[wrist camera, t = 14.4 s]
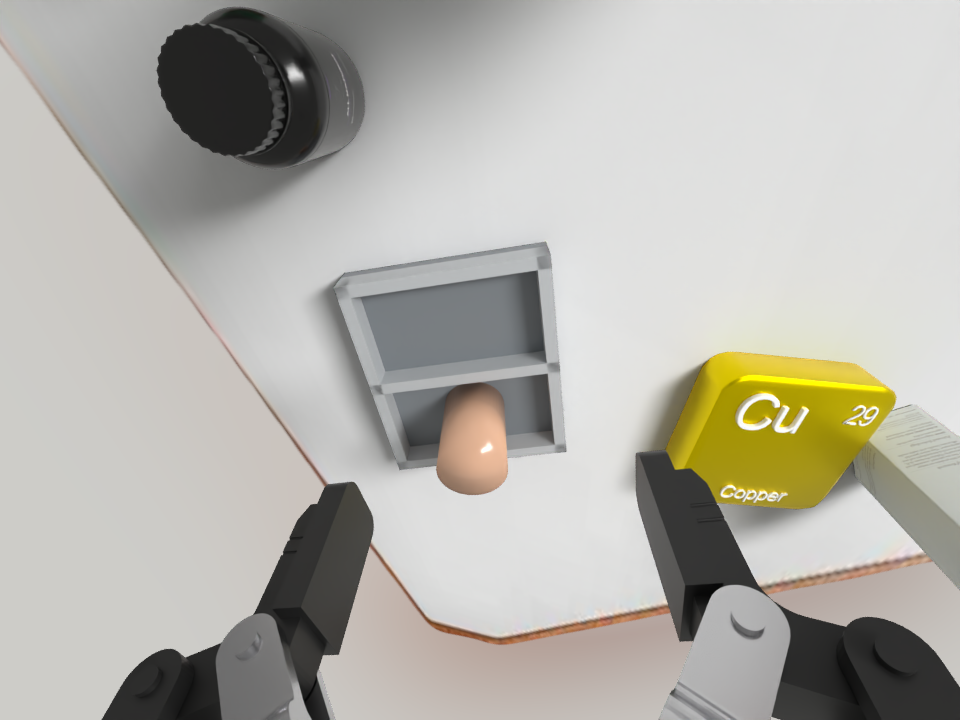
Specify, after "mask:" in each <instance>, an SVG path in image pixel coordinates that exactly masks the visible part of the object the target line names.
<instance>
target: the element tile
mask: <svg viewBox="0 0 960 720" xmlns="http://www.w3.org/2000/svg"><path fill="white" fill-rule="evenodd" d="M895 402H896V395H895V393H894V391H893V390H891V389H890V388H889V387H887V386H886V385H884V384H883V383H882V382H880V381H879V380H878V379H876V378H875V377H874V376H872V375H871V374H870V373H868V372H867V371H866V370H864V369H863V368H861V367H860V366H858V365H857V364H853V363H846V362H836V361H825V360H815V359H804V358H794V357H784V356H773V355H763V354H752V353H742V352H725V353H721V354H717V355H715V356H714V357H712V358H710V359H709V360H708V361H707V362H706V363H705V364H704V365H703V367H702V368H701V370H700V372H699V375H698V377H697V379H696V381H695V384H694V386H693V388H692V390H691V393H690V395H689V397H688V400H687V402H686V404H685V406H684V409H683V411H682V413H681V415H680V418H679V420H678V422H677V424H676V427H675V429H674V431H673V433H672V436H671V438H670V440H669V442H668V445H667V447H666V449H665V450H666V451H667V453H668V455H669V457H670V459H671V462H672V464H673V466H674V469H675V470H678V469H688V468H691V469H692V470H693V471H694V472H696V473H697V474H698V475H699V476H700V477H701V478H702V479H703V480H704V481H705V482H706V483H707V484H708V486H709V488H710V490H711V492H712V494H713V496H714V498H715V500H716V503H725V504H737V505H750V506H762V507H775V508H787V509H803V508H811V507H814V506H816V505H817V504H818V503H819V502H821V501H822V500H823V499H824V498H825V497H826V496H827V494H828V493H829V492H830V490H831V489H832V488H833V486H834V485H835V484H836V482H837V481H838V480H839V479H840V477H841V476H842V475H843V473H844V472H845V471H846V469H847V468H848V467H849V465H850V464H851V463H852V462H853V460H854V459H855V458H856V456H857V455H858V454H859V452H860V451H861V450H862V448H863V447H864V446H865V445H866V443H867V442H868V441H869V439H870V438H871V437H872V435H873V434H874V433H875V431H876V430H877V429H878V428H879V426H880V425H881V424H882V422H883V421H884V420H885V418H886V417H887V416H888V414H889V413H890V412H891V411H892V409H893V408H894V405H895Z"/></svg>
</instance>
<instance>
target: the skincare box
mask: <svg viewBox="0 0 960 720" xmlns="http://www.w3.org/2000/svg"><path fill="white" fill-rule="evenodd" d="M853 463H854V468H855V477H856V478H857V479H858V480H859V481H860V482H861V483H862V485H863V486H864V487H865V488H866V489H867V490H868V491H869V492H870V493H871V494H872V495H873V497H874V498H875V499H876V500H877V501H878V502H879V503H880V504H881V505H882V506H883V507H884V509H885V510H886V511H887V512H888V513H889V514H890V515H891V516H892V517H893V518H894V519H895V521H896V522H897V523H898V524H899V525H900V526H901V527H902V528H903V529H904V530H905V531H906V533H907V534H908V535H909V536H910V537H911V538H912V539H913V540H914V541H915V542H916V543H917V544H918V545H919V547H920V548H921V549H922V550H923V551H924V552H925V553H926V554H927V555H928V556H929V557H930V559H931V560H932V561H933V562H934V563H935V564H936V565H937V566H938V567H939V568H940V569H941V570H942V572H944V574H945V575H946V576H947V577H948V578H949V579H950V580H951V581H952V582H953V584H954V585H955V586H956V587H957V588H958V589H959V590H960V437H959V436H958V435H957V434H955V433H954V432H953V431H951V430H950V429H949V428H947V427H946V426H945V425H943V424H942V423H941V422H939V421H938V420H937V419H935V418H934V417H933V416H931V415H930V414H929V413H927V412H926V411H925V410H923V409H922V408H921V407H919V406H918V405H911V406H907V407H904V408H900V409H897V410H894V411H891V412H890V413H889V414H888V416H887V417H886V418H885V420H884V421H883V422H882V424H881V425H880V426H879V428H878V429H877V430H876V431H875V433H874V434H873V435H872V437H871V438H870V439H869V441H868V442H867V443H866V445H865V446H864V447H863V448H862V450H861V451H860V452H859V454H858V455H857V456H856V458H855V459H854V460H853Z"/></svg>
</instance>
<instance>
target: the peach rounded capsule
mask: <svg viewBox="0 0 960 720" xmlns="http://www.w3.org/2000/svg"><path fill="white" fill-rule="evenodd" d="M436 471H437V475H438V478H439V479H440V481H441V482H442V483H443V484H444V485H445V486H446V487H448V488H449V489H451V490H453V491H455V492H458V493H461V494H467V495H479V494H485V493H488V492H491V491H493V490H495V489H497V488H498V487H499V486H500V485H501V484H502V483H503V482H504V481H505V479H506V477H507V474H508V463H507V444H506V424H505V405H504V399H503V397H502V395H501V394H500V392H499V391H498V390H497V389H495V388H494V387H493V386H491V385H489V384H486V383H482V382H477V383H469V384H461V385H458V386H456V387H455V388H453V389H452V390H451V391H450V392H449V394H448V395H447V397H446V401H445V408H444V415H443V423H442V430H441V437H440V445H439V452H438V459H437V467H436Z"/></svg>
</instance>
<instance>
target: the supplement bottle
mask: <svg viewBox="0 0 960 720" xmlns="http://www.w3.org/2000/svg"><path fill="white" fill-rule="evenodd" d="M158 63H159V65H158V67H157V73H158V76H159V78H158V84H159V87H160V88H161V96H162V98H163V100H164V101H165V103H166V108H167V110H168V111H169V112H170V113H171V115H172V118H173V120H174V121H175V122H176V123H177V124H178V125H179V126H180V128H181V130H182V131H183V132H184V133H186V134H188V135H189V137H190V138H191V139H192V140H193V141H195V142H198V143H199V144H200V145H201V146H202V147H203V148H208V149H210V150H211V151H212V152H213V153H220V154H222V155H224V156H228V155H231V156H233V157H234V158H236V159H238V160H240V161H242V162H244V163H246V164H248V165H251V166H254V167H258V168H262V169H274V170H276V169H285V168H290V167H293V166H296V165H299V164H302V163H305V162H308V161H311V160H313V159H316V158H319V157H322V156H325V155H328V154H331V153H333V152H335V151H338V150H340V149H342V148H343V147H345V146H346V145H347V144H349V143H350V142H351V141H352V140H353V138H354V137H355V136H356V134H357V133H358V131H359V129H360V127H361V124H362V121H363V117H364V110H365V98H364V91H363V86H362V82H361V79H360V76H359V74H358V72H357V70H356V68H355V66H354V64H353V62H352V61H351V59H350V58H349V57H348V55H347V54H346V53H345V52H344V51H343V50H342V49H341V48H340V47H339V46H338V45H337V44H336V43H335V42H333V41H332V40H330V39H329V38H327V37H326V36H324V35H322V34H320V33H317V32H315V31H313V30H310V29H308V28H305V27H302V26H300V25H297V24H295V23H292V22H289V21H287V20H284V19H281V18H279V17H276V16H274V15H271V14H268V13H266V12H263V11H260V10H256V9H252V8H246V7H228V8H224V9H220V10H217V11H215V12H213V13H211V14H209V15H207V16H206V17H205V18H204V19H202V20H201V21H200V22H199V23H196V24H194V25H185V26H183V28H182V29H177V30H175V31H174V33H173V35H171V36H168V37H167V39H166V43H165V44H164V45H162V46H161V54H160V55H159V57H158Z"/></svg>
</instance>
